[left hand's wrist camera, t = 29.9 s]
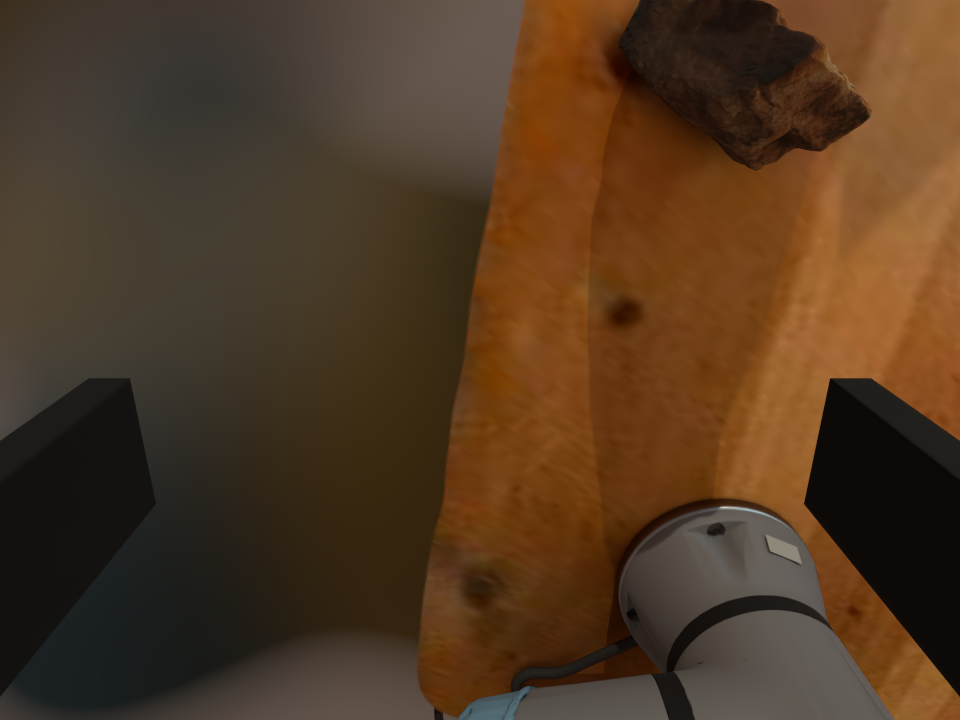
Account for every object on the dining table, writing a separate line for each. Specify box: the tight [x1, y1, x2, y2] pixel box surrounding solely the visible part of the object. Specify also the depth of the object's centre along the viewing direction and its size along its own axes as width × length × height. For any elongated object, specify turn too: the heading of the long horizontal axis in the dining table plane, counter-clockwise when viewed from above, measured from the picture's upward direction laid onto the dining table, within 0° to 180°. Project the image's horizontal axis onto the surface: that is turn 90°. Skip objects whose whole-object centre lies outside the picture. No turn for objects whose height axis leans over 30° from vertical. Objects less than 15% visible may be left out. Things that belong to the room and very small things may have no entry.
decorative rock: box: [619, 0, 872, 171], centre depth 35 cm, size 12×6×11 cm, turn 52°
